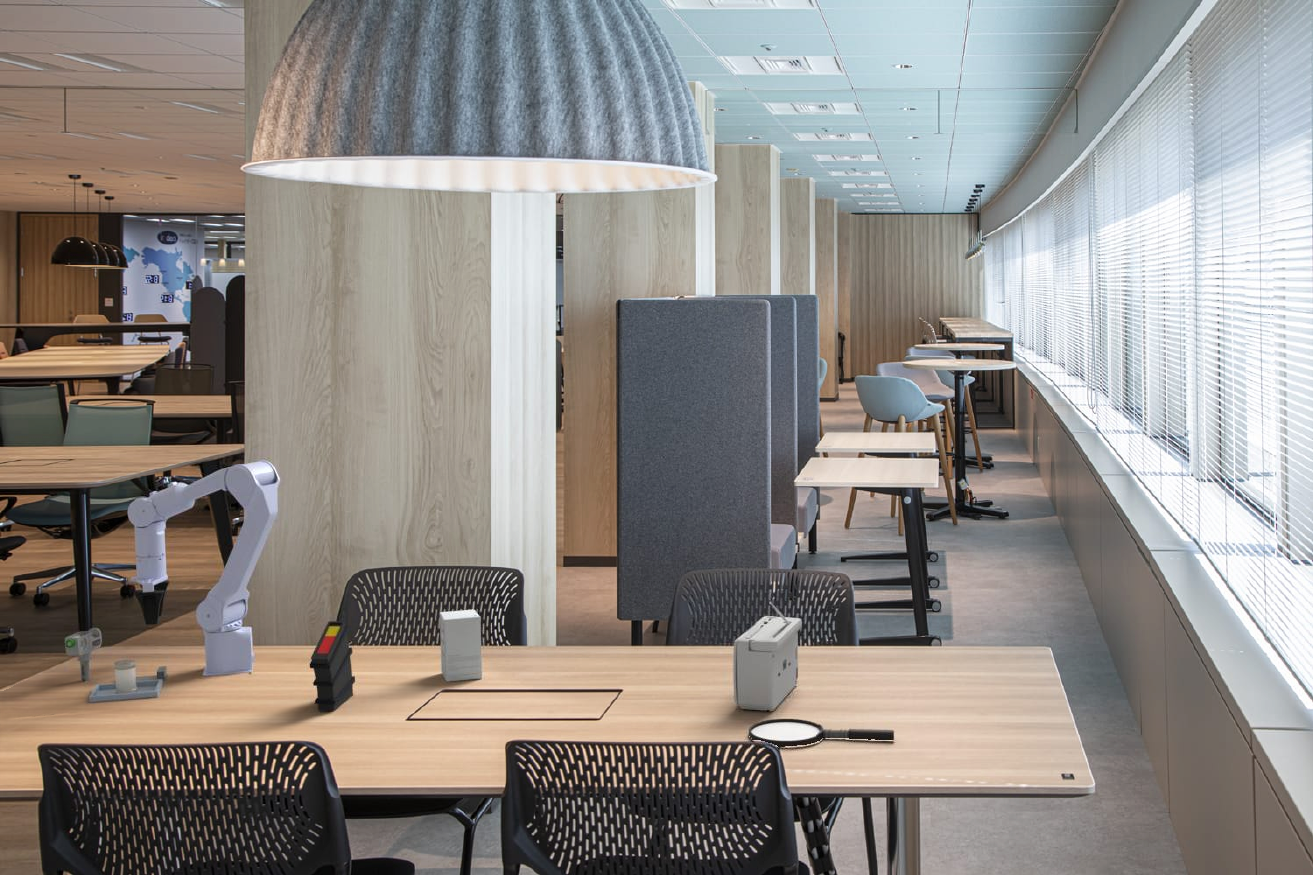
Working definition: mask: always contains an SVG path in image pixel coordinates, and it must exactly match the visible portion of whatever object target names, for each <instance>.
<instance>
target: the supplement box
mask: <svg viewBox="0 0 1313 875" xmlns="http://www.w3.org/2000/svg"><path fill="white" fill-rule="evenodd" d="M481 626H482V625H481V616H480V615H479V614H478V612H477V611H476V610H475V609H465V610H463V609H462V610H454V611H452V610H451V611H440V612H439V630H440V634H439V635H440V659H441V660H440V662H441V664H440V665H441V673H442V676H443V678H444V679H445V682H447V683H448V682H455V681H456V682H457V681H468V680H469V681H470V680H479V679H483V664H482V663H483V662H482V661H483V660H482V635H481V634H482V633H481V632H482V631H481V630H482V629H481Z"/></svg>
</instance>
